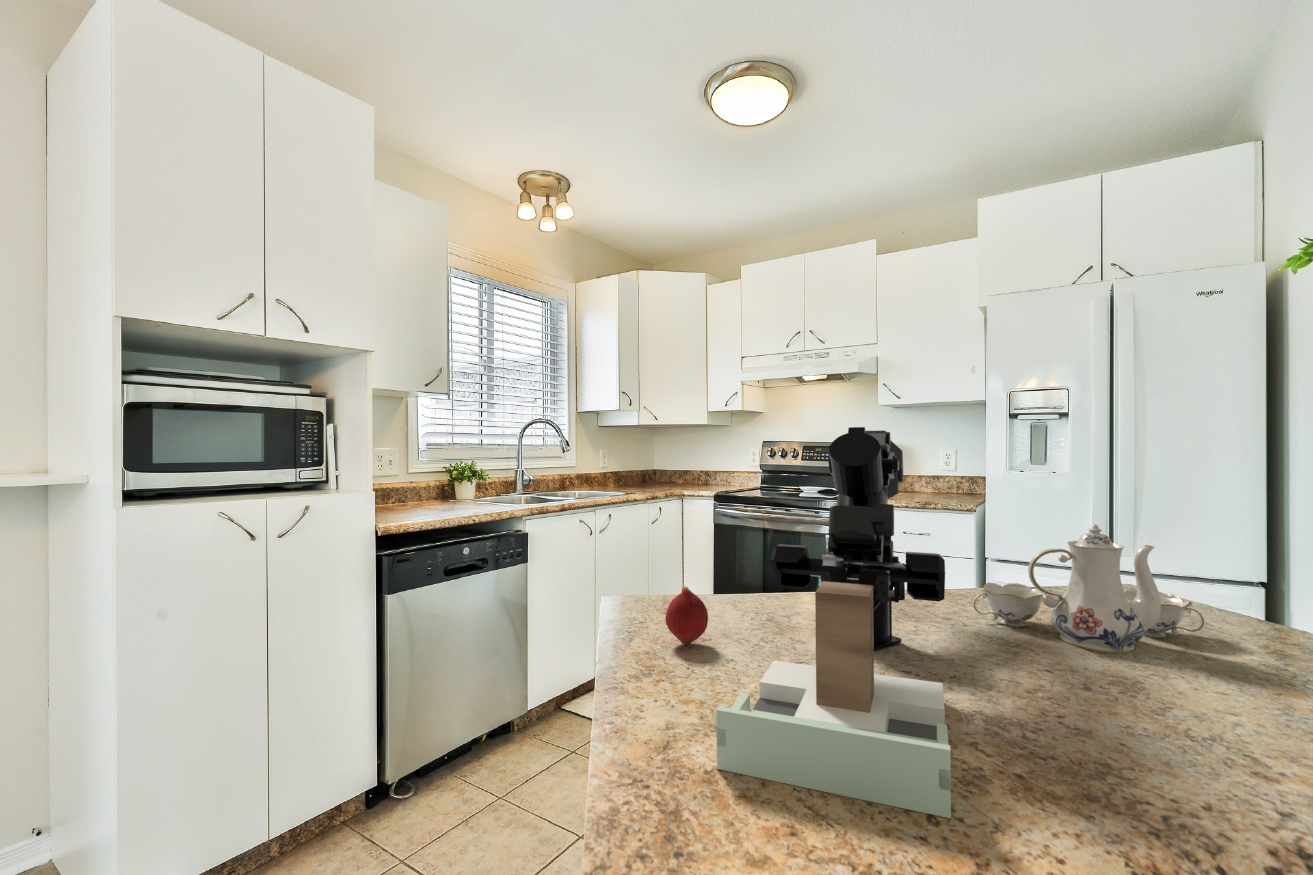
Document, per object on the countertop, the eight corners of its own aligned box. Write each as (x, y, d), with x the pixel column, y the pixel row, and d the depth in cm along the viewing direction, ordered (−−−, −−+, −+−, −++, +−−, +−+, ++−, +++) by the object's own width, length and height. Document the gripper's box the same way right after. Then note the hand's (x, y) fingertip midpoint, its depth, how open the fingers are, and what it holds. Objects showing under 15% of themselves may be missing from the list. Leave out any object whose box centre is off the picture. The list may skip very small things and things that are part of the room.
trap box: (774, 677, 73) (773, 634, 73) (942, 701, 66) (942, 654, 66) (716, 768, 53) (716, 709, 53) (951, 818, 46) (950, 750, 46)
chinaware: (1171, 636, 92) (1163, 523, 94) (1250, 664, 76) (1239, 527, 78) (966, 625, 98) (962, 520, 100) (999, 648, 82) (994, 522, 84)
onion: (708, 638, 88) (708, 581, 88) (707, 652, 82) (707, 591, 82) (667, 637, 88) (667, 581, 88) (664, 651, 82) (663, 590, 83)
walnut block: (823, 685, 65) (822, 581, 65) (874, 693, 63) (873, 585, 63) (816, 704, 61) (815, 591, 61) (870, 712, 59) (869, 596, 59)
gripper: (773, 477, 75) (750, 588, 65) (943, 480, 68) (948, 606, 57) (787, 533, 82) (768, 642, 72) (942, 542, 75) (946, 663, 65)
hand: (850, 638), depth 66 cm, fingers closed
